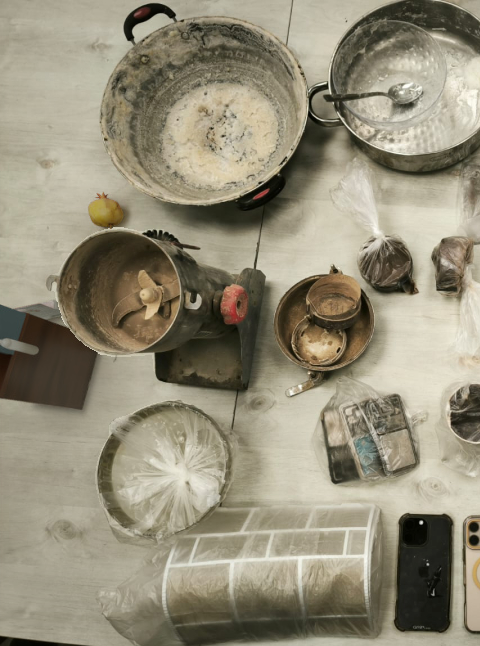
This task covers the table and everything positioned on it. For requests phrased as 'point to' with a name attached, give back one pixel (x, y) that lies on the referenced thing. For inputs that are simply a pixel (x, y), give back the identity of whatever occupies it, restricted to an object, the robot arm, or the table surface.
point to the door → (13, 332)
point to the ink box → (42, 309)
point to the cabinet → (47, 366)
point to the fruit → (105, 212)
